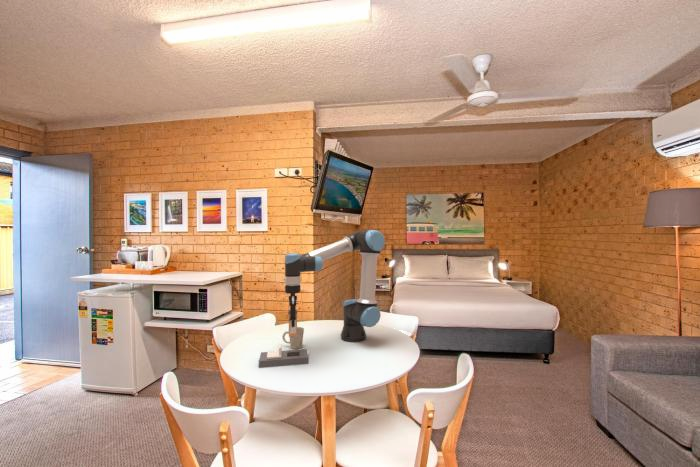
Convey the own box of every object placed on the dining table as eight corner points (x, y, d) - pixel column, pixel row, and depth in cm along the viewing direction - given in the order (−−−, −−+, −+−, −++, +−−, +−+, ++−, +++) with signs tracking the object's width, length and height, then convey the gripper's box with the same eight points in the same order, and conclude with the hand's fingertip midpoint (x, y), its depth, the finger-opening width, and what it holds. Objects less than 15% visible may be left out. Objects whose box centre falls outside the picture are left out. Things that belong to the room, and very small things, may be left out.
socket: (306, 354, 168) (306, 348, 168) (308, 363, 156) (308, 357, 156) (261, 358, 164) (260, 352, 164) (258, 367, 152) (258, 361, 152)
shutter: (281, 351, 164) (281, 342, 164) (281, 357, 155) (281, 348, 155) (267, 352, 163) (267, 343, 163) (266, 359, 154) (266, 349, 154)
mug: (300, 350, 175) (300, 331, 175) (279, 348, 178) (279, 330, 178) (306, 345, 183) (305, 327, 183) (285, 343, 186) (285, 326, 186)
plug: (297, 333, 163) (297, 309, 164) (297, 336, 159) (297, 311, 159) (288, 334, 163) (288, 310, 163) (288, 336, 158) (288, 312, 158)
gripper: (285, 282, 169) (285, 327, 168) (284, 287, 152) (285, 337, 152) (299, 282, 170) (300, 326, 170) (301, 286, 153) (301, 336, 153)
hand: (292, 331), depth 161 cm, fingers closed on plug, 4 cm apart
